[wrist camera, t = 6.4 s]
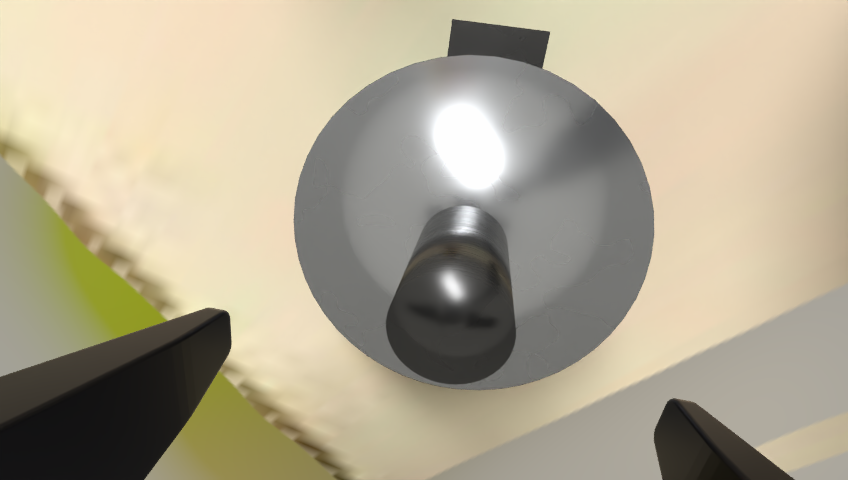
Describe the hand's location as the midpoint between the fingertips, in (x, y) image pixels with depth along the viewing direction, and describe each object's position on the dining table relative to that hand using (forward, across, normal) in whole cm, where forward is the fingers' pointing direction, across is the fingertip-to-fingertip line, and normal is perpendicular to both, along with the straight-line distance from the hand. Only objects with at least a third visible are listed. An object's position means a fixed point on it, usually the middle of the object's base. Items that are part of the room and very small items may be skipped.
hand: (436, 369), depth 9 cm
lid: (+7, 0, 0) cm, 7 cm away
